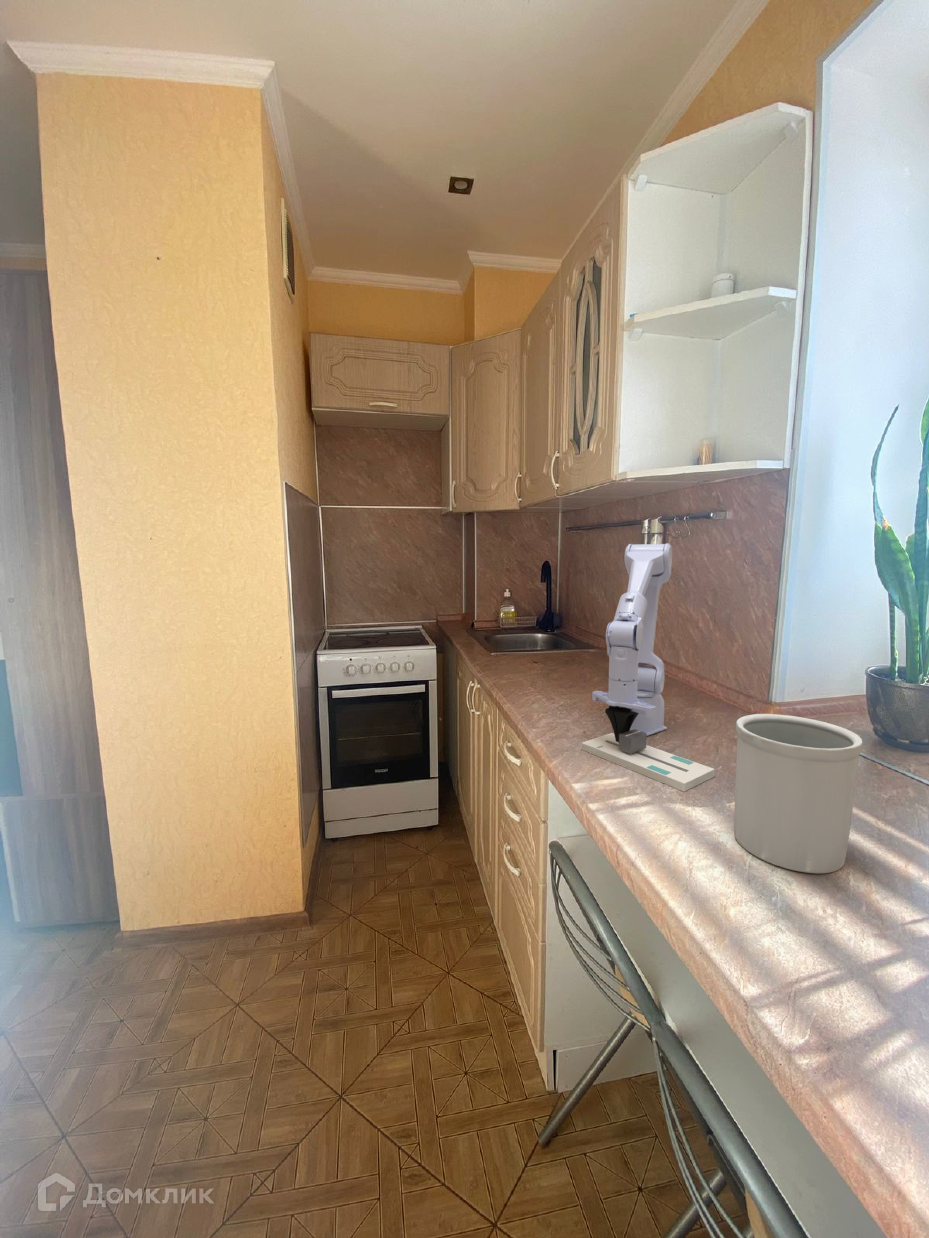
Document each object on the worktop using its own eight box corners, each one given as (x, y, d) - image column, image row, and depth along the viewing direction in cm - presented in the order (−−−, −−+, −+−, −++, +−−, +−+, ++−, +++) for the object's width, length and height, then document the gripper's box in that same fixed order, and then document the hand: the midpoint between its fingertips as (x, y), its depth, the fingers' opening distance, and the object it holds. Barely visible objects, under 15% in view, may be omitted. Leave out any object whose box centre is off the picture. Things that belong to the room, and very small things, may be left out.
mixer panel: (611, 739, 115) (611, 732, 115) (714, 776, 96) (714, 768, 96) (581, 749, 110) (581, 742, 109) (684, 791, 90) (684, 783, 90)
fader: (633, 743, 107) (634, 728, 107) (646, 747, 105) (646, 732, 104) (618, 749, 105) (619, 733, 104) (630, 753, 102) (631, 738, 102)
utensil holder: (740, 808, 84) (747, 706, 82) (853, 839, 75) (864, 725, 73) (718, 849, 73) (725, 732, 71) (847, 892, 64) (860, 759, 61)
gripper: (583, 674, 109) (581, 735, 111) (640, 689, 97) (638, 756, 99) (604, 669, 113) (603, 728, 115) (663, 683, 101) (660, 748, 103)
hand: (621, 741), depth 107 cm, fingers closed
